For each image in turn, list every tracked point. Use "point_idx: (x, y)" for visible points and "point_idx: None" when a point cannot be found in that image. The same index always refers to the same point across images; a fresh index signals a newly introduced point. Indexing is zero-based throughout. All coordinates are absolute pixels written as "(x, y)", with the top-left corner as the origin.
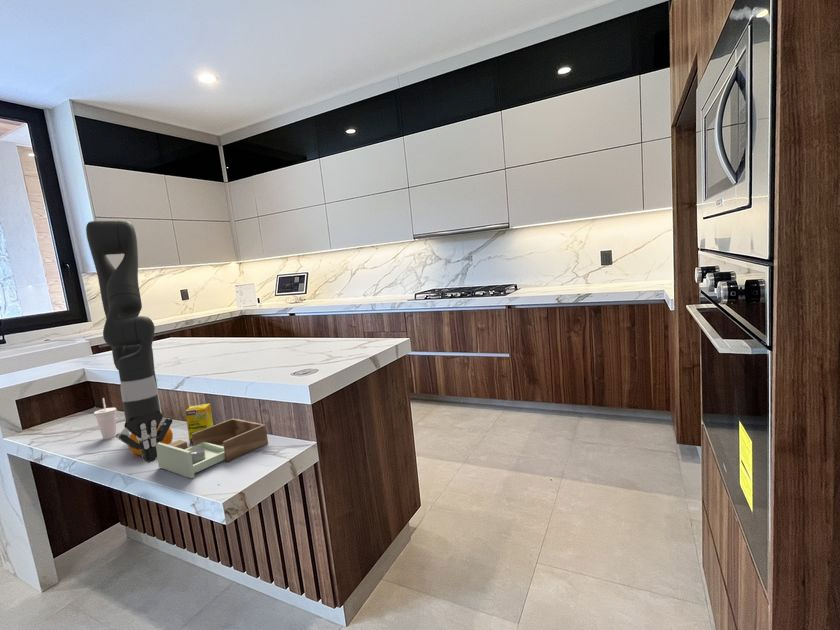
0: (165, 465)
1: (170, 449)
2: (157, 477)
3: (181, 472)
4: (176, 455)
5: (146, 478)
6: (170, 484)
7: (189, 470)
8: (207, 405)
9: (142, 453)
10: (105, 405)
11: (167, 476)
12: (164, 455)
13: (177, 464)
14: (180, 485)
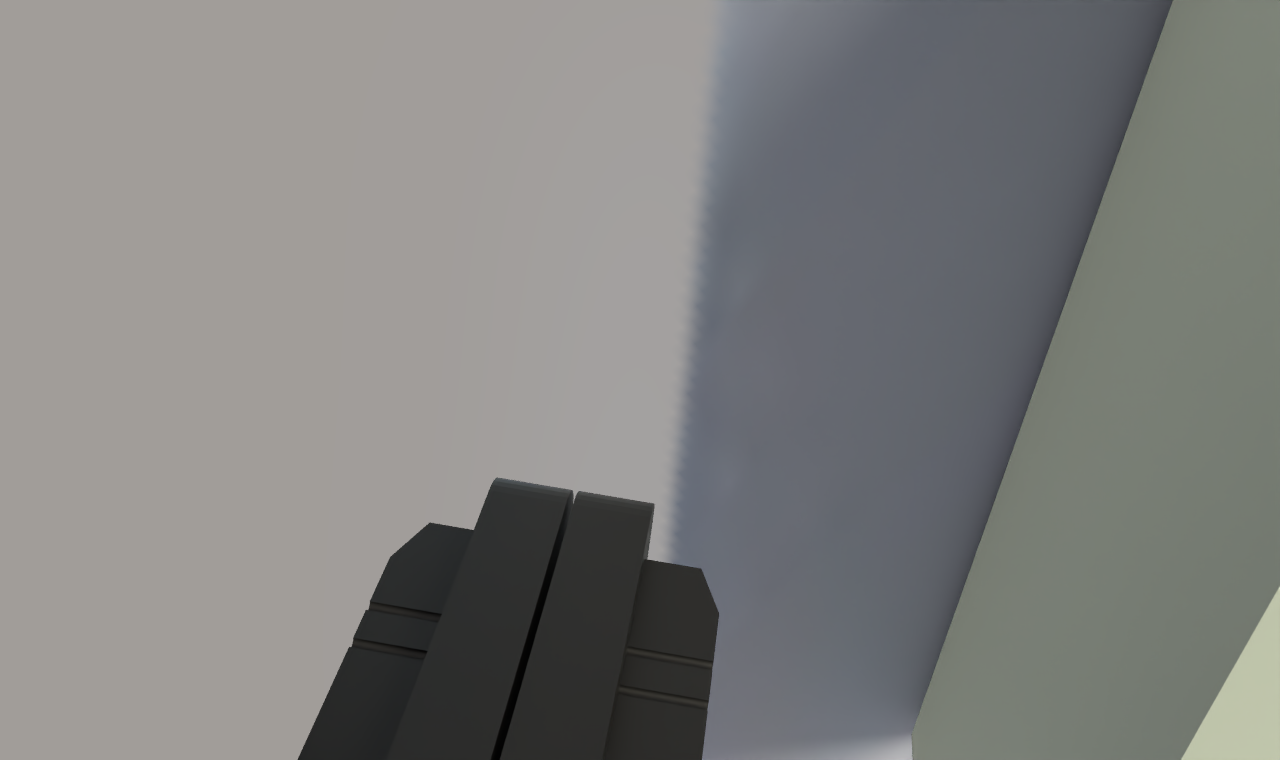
0: (1203, 18)
1: (1168, 699)
2: (847, 92)
3: (986, 567)
4: None
5: None
6: (712, 551)
7: None
8: None
9: (327, 724)
10: None
11: (928, 265)
12: (1271, 173)
13: (1033, 590)
14: (734, 693)
